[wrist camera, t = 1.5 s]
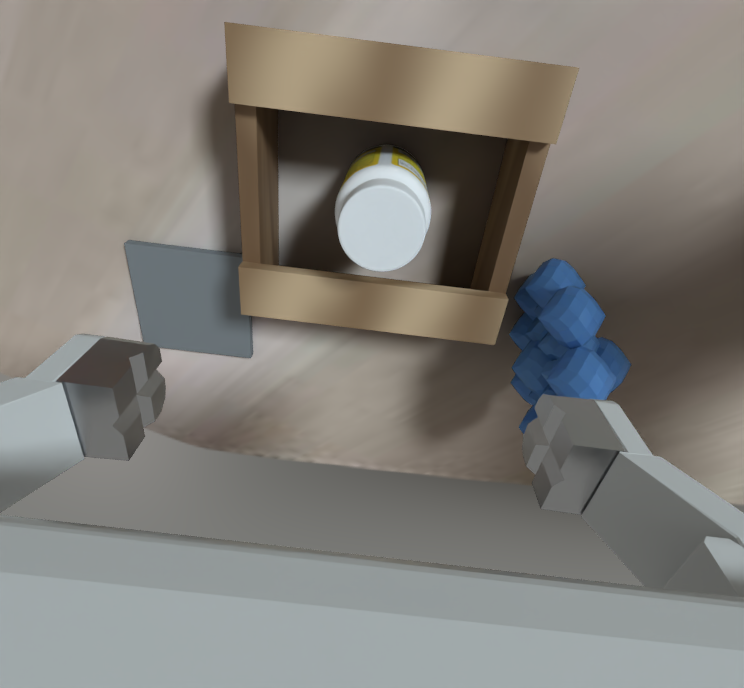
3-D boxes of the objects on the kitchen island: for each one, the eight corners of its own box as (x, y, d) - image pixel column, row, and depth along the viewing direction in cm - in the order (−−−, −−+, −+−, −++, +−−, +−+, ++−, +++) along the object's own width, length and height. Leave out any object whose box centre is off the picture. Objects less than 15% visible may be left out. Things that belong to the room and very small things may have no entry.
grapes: (579, 383, 34) (654, 520, 24) (488, 385, 35) (524, 520, 25) (611, 233, 28) (731, 333, 18) (500, 239, 28) (555, 339, 18)
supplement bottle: (344, 221, 28) (326, 275, 21) (347, 140, 26) (327, 171, 19) (420, 227, 28) (426, 283, 21) (430, 147, 26) (442, 180, 19)
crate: (545, 65, 23) (579, 67, 19) (481, 303, 31) (494, 345, 26) (258, 28, 23) (224, 21, 19) (264, 277, 31) (241, 314, 26)
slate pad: (248, 254, 30) (246, 258, 29) (253, 353, 34) (250, 358, 34) (128, 239, 30) (124, 243, 29) (148, 341, 34) (144, 345, 34)
